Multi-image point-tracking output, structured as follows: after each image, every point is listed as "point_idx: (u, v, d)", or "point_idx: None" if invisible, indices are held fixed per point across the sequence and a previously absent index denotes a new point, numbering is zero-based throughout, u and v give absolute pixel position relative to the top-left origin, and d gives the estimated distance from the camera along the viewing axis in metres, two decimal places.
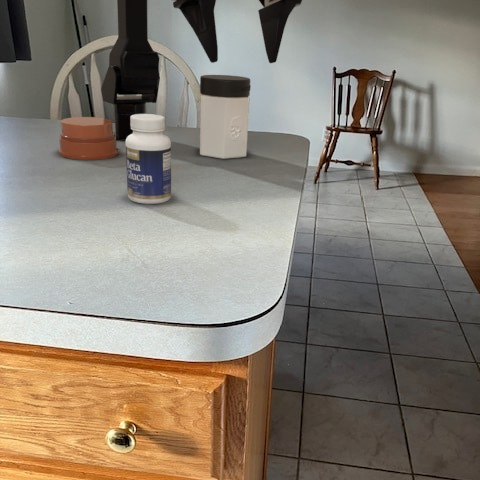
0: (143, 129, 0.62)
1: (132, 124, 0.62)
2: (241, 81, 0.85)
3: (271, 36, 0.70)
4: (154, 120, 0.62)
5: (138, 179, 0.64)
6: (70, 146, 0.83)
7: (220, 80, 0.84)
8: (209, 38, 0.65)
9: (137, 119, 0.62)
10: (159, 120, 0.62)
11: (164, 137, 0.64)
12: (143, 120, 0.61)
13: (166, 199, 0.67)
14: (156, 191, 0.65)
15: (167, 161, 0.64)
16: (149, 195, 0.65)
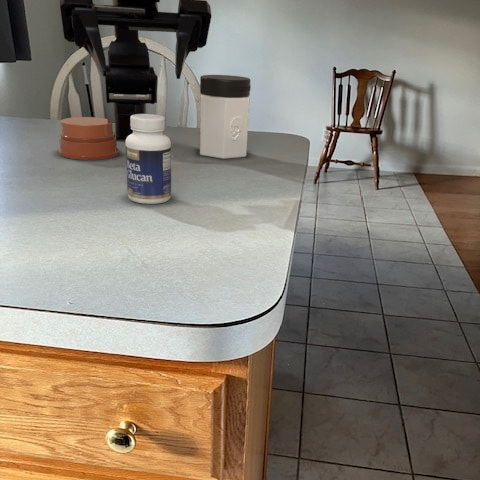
0: (143, 129, 0.62)
1: (132, 124, 0.62)
2: (241, 81, 0.85)
3: (176, 55, 0.70)
4: (154, 120, 0.62)
5: (138, 179, 0.64)
6: (70, 146, 0.83)
7: (220, 80, 0.84)
8: (95, 52, 0.67)
9: (137, 119, 0.62)
10: (159, 120, 0.62)
11: (164, 137, 0.64)
12: (143, 120, 0.61)
13: (166, 199, 0.67)
14: (156, 191, 0.65)
15: (167, 161, 0.64)
16: (149, 195, 0.65)
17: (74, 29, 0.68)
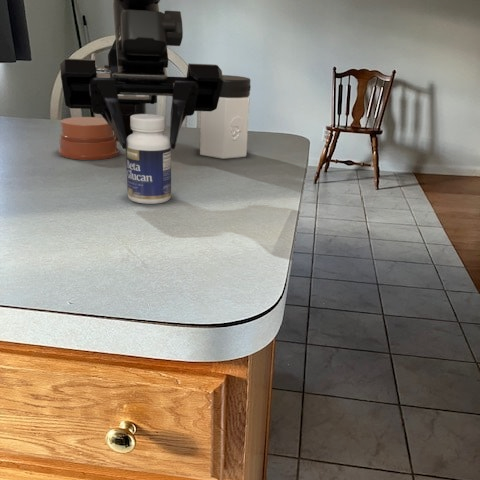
0: (143, 129, 0.62)
1: (132, 124, 0.62)
2: (241, 81, 0.85)
3: (171, 123, 0.65)
4: (154, 120, 0.62)
5: (138, 179, 0.64)
6: (70, 146, 0.83)
7: None
8: (115, 124, 0.62)
9: (137, 119, 0.62)
10: (159, 120, 0.62)
11: (164, 137, 0.64)
12: (143, 120, 0.61)
13: (166, 199, 0.67)
14: (156, 191, 0.65)
15: (167, 161, 0.64)
16: (149, 195, 0.65)
17: (92, 98, 0.64)
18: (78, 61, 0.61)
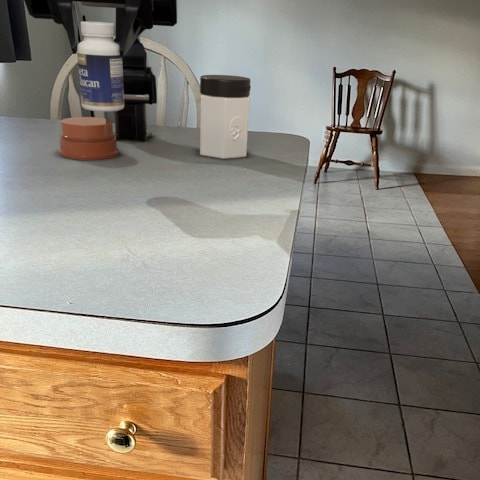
0: (90, 33, 0.64)
1: (81, 29, 0.64)
2: (241, 81, 0.85)
3: None
4: (100, 24, 0.63)
5: (87, 84, 0.66)
6: (70, 146, 0.83)
7: (220, 80, 0.84)
8: (65, 29, 0.65)
9: (84, 23, 0.63)
10: (106, 25, 0.64)
11: (113, 44, 0.65)
12: (89, 24, 0.63)
13: (116, 107, 0.68)
14: (104, 98, 0.67)
15: (115, 68, 0.66)
16: (97, 101, 0.67)
17: (49, 5, 0.66)
18: None
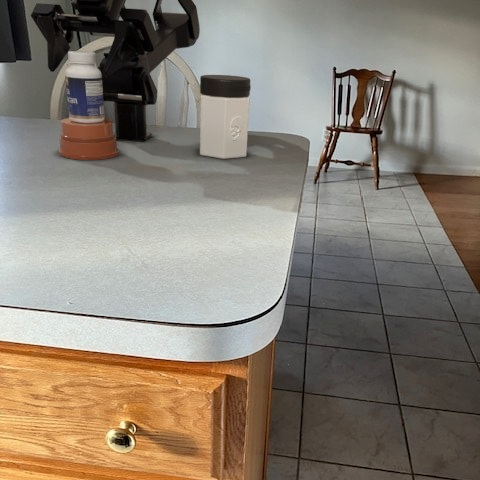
0: (71, 60, 0.80)
1: (68, 57, 0.81)
2: (241, 81, 0.85)
3: None
4: (79, 53, 0.79)
5: (69, 101, 0.82)
6: (70, 146, 0.83)
7: (220, 80, 0.84)
8: (47, 52, 0.82)
9: (68, 52, 0.80)
10: (83, 54, 0.79)
11: (90, 69, 0.81)
12: (71, 53, 0.79)
13: (92, 120, 0.83)
14: (81, 112, 0.82)
15: (91, 88, 0.81)
16: (76, 114, 0.83)
17: (45, 34, 0.84)
18: (43, 4, 0.82)
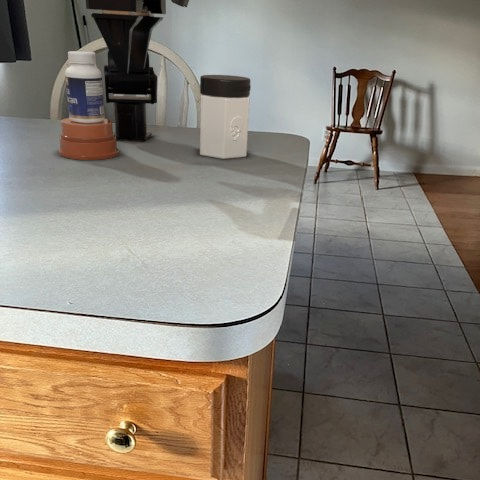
0: (71, 60, 0.80)
1: (68, 57, 0.81)
2: (241, 81, 0.85)
3: (140, 45, 0.79)
4: (79, 53, 0.79)
5: (69, 101, 0.82)
6: (70, 146, 0.83)
7: (220, 80, 0.84)
8: (126, 54, 0.71)
9: (68, 52, 0.80)
10: (83, 54, 0.79)
11: (90, 69, 0.81)
12: (71, 53, 0.79)
13: (92, 120, 0.83)
14: (81, 112, 0.82)
15: (91, 88, 0.81)
16: (76, 114, 0.83)
17: (113, 18, 0.67)
18: None
